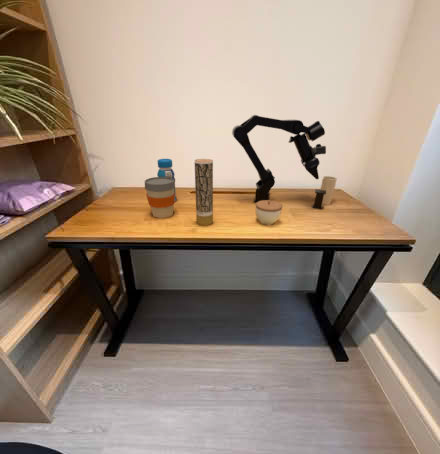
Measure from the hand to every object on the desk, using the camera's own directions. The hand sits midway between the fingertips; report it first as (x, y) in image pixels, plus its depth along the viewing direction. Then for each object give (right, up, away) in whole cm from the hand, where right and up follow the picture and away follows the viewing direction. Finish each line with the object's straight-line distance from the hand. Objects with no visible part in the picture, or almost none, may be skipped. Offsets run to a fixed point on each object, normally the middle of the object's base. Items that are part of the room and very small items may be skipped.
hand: (316, 177), depth 121 cm
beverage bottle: (-73, -10, +7) cm, 74 cm away
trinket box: (-26, -23, -14) cm, 38 cm away
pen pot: (+7, -11, +8) cm, 15 cm away
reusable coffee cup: (-72, -19, -8) cm, 75 cm away
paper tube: (-53, -23, -15) cm, 60 cm away
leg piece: (+1, -14, +2) cm, 14 cm away
